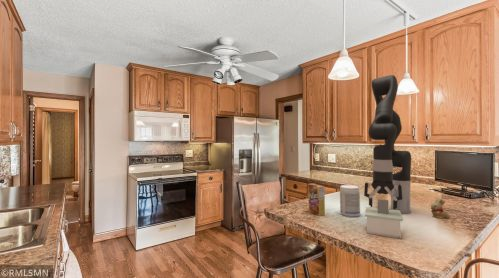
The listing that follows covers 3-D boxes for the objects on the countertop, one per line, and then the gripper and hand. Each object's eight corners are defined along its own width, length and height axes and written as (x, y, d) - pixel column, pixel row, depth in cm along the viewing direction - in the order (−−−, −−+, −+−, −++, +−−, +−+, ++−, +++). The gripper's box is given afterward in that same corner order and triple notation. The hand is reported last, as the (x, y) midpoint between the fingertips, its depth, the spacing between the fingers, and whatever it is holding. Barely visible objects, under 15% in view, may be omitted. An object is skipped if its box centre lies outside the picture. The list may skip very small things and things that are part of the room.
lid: (366, 210, 114) (366, 195, 114) (400, 214, 108) (400, 199, 108) (364, 218, 102) (364, 202, 102) (402, 223, 96) (402, 206, 96)
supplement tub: (363, 215, 128) (363, 187, 128) (352, 218, 122) (352, 188, 122) (347, 210, 136) (347, 184, 136) (336, 213, 130) (336, 186, 131)
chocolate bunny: (430, 214, 129) (430, 195, 129) (449, 217, 125) (449, 197, 125) (431, 217, 124) (431, 197, 124) (451, 220, 120) (451, 199, 120)
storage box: (367, 224, 113) (367, 209, 113) (398, 228, 108) (398, 212, 108) (366, 233, 103) (366, 216, 103) (400, 238, 97) (400, 220, 97)
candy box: (307, 211, 134) (307, 183, 135) (314, 210, 136) (314, 183, 136) (318, 216, 126) (318, 186, 126) (325, 215, 128) (325, 185, 128)
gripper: (401, 170, 105) (401, 208, 105) (364, 168, 112) (364, 204, 112) (402, 172, 99) (402, 212, 99) (363, 170, 105) (363, 207, 105)
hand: (382, 207), depth 105 cm, fingers open, 8 cm apart
